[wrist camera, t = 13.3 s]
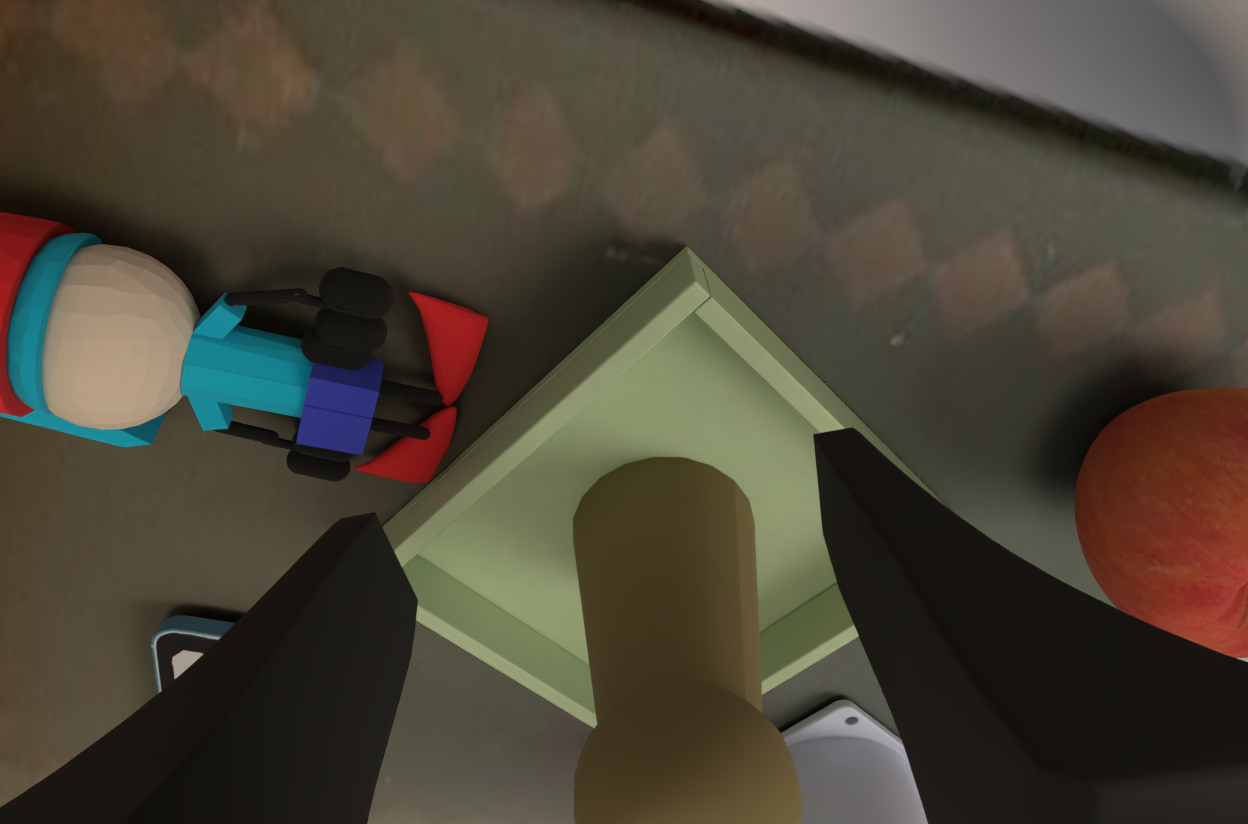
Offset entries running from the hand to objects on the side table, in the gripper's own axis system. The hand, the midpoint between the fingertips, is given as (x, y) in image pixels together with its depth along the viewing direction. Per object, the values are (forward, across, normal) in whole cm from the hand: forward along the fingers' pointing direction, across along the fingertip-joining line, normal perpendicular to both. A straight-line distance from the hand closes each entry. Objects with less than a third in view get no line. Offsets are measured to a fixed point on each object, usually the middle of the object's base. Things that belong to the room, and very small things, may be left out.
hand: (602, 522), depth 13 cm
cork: (+10, 0, +9) cm, 13 cm away
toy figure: (+11, +11, -1) cm, 16 cm away
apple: (+11, -16, +9) cm, 21 cm away
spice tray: (+10, 0, +9) cm, 14 cm away
